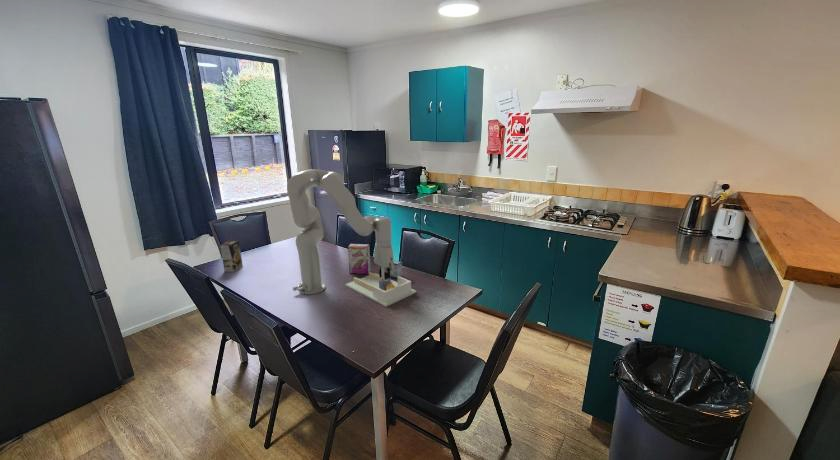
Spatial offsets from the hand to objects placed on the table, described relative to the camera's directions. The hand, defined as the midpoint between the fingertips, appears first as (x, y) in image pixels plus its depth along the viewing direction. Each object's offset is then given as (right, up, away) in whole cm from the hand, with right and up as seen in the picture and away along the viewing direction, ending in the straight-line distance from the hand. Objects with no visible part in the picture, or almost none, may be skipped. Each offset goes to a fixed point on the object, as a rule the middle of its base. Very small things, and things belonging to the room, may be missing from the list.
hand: (384, 277), depth 171 cm
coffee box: (-92, +1, +31) cm, 97 cm away
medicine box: (+3, -2, +21) cm, 21 cm away
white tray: (-3, -7, +5) cm, 9 cm away
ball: (+3, -5, -1) cm, 6 cm away
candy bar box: (-17, -1, +26) cm, 31 cm away
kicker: (0, -6, +2) cm, 6 cm away
